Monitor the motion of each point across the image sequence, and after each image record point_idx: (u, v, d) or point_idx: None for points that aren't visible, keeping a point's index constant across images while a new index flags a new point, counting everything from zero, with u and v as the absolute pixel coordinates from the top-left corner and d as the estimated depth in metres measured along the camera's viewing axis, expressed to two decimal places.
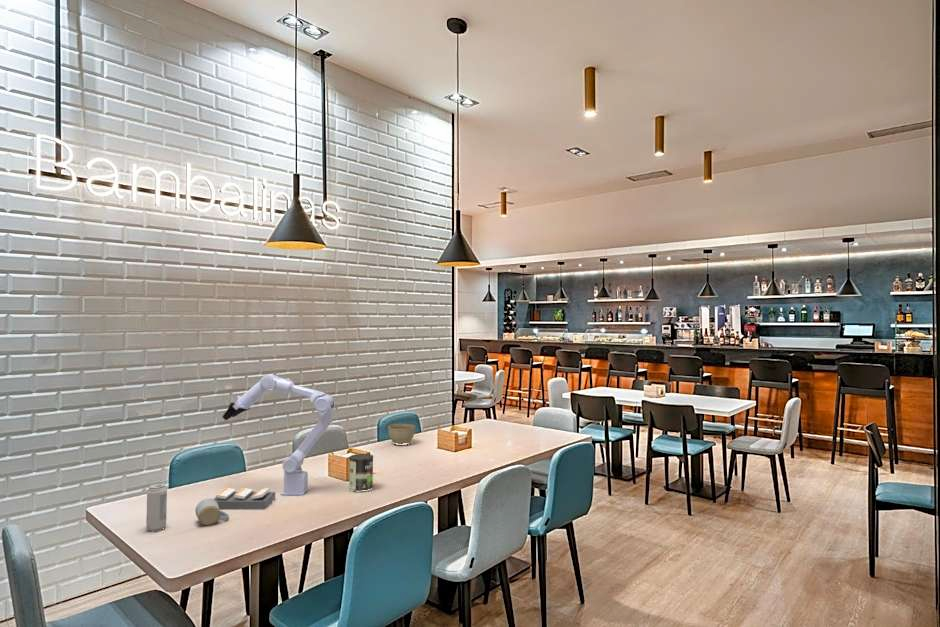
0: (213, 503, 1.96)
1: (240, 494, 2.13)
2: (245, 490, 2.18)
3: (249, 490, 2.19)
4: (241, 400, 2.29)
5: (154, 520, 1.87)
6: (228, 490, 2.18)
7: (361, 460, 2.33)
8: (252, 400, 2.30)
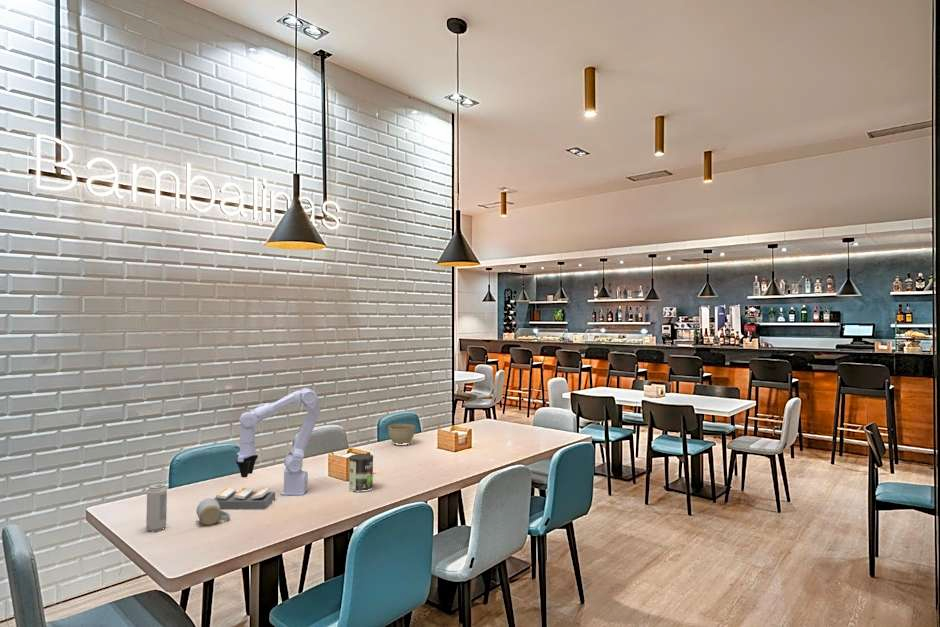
0: (214, 503, 1.97)
1: (240, 494, 2.13)
2: (245, 490, 2.18)
3: (249, 490, 2.19)
4: (241, 452, 2.21)
5: (154, 519, 1.87)
6: (228, 490, 2.18)
7: (361, 460, 2.33)
8: (249, 444, 2.22)
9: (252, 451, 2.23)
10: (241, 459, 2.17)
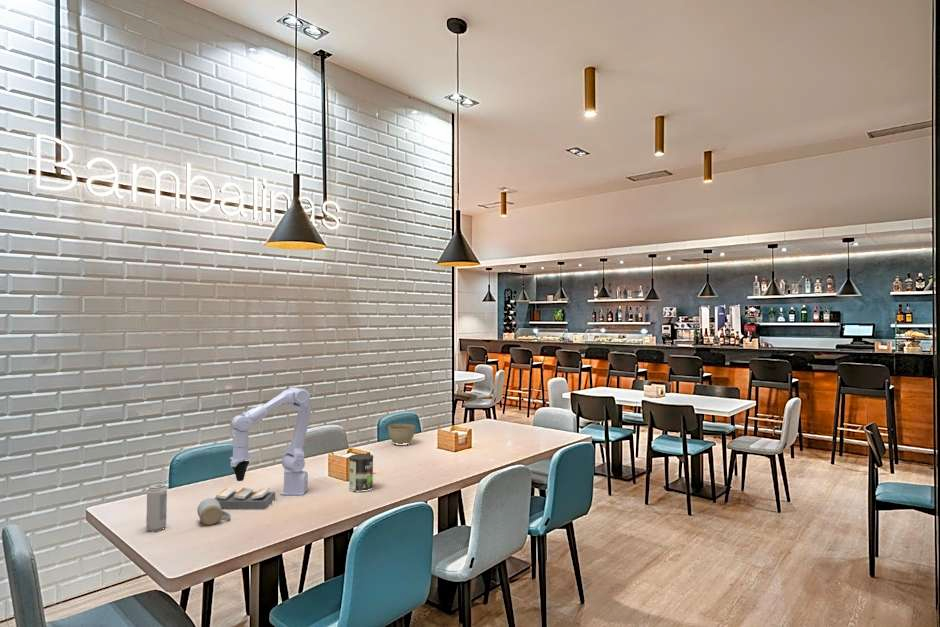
0: (215, 503, 1.97)
1: (240, 494, 2.13)
2: (245, 490, 2.18)
3: (249, 490, 2.19)
4: (234, 457, 2.14)
5: (154, 520, 1.87)
6: (228, 490, 2.18)
7: (361, 460, 2.33)
8: (243, 448, 2.15)
9: (245, 455, 2.16)
10: (234, 464, 2.10)
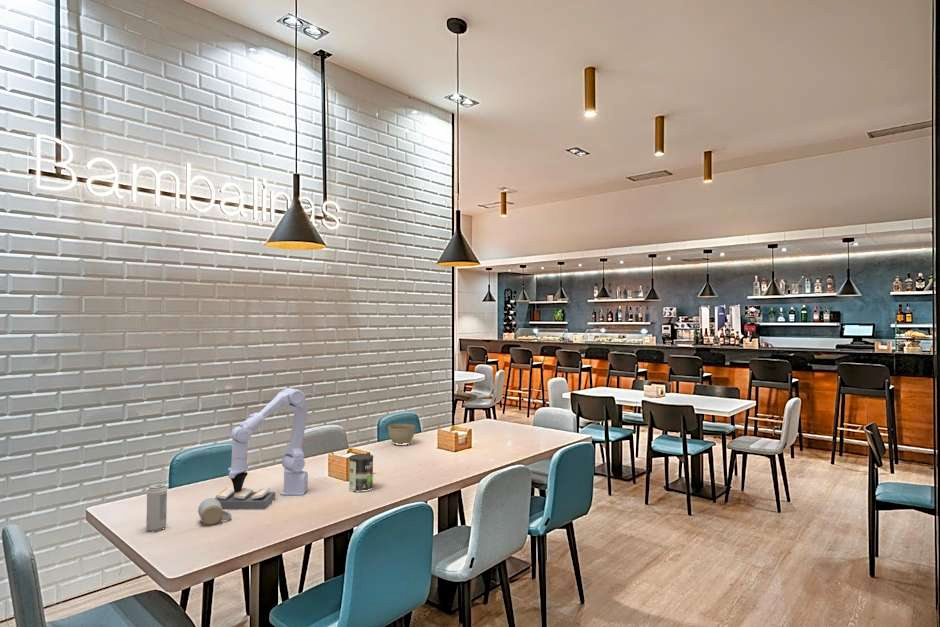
0: (216, 503, 1.97)
1: (240, 494, 2.13)
2: (245, 490, 2.18)
3: (249, 490, 2.19)
4: (233, 468, 2.14)
5: (154, 520, 1.87)
6: (228, 490, 2.18)
7: (361, 460, 2.33)
8: (241, 460, 2.15)
9: (244, 467, 2.15)
10: (232, 475, 2.09)
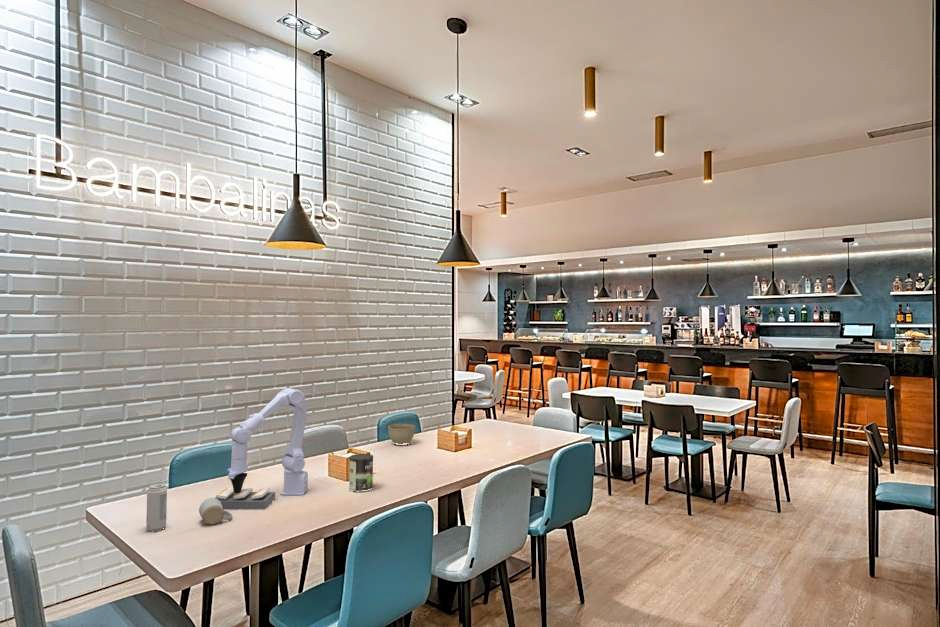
0: (217, 502, 1.97)
1: (239, 494, 2.13)
2: (244, 490, 2.18)
3: (248, 489, 2.19)
4: (233, 469, 2.14)
5: (154, 520, 1.87)
6: (228, 490, 2.18)
7: (361, 460, 2.33)
8: (241, 460, 2.15)
9: (244, 468, 2.15)
10: (232, 476, 2.09)
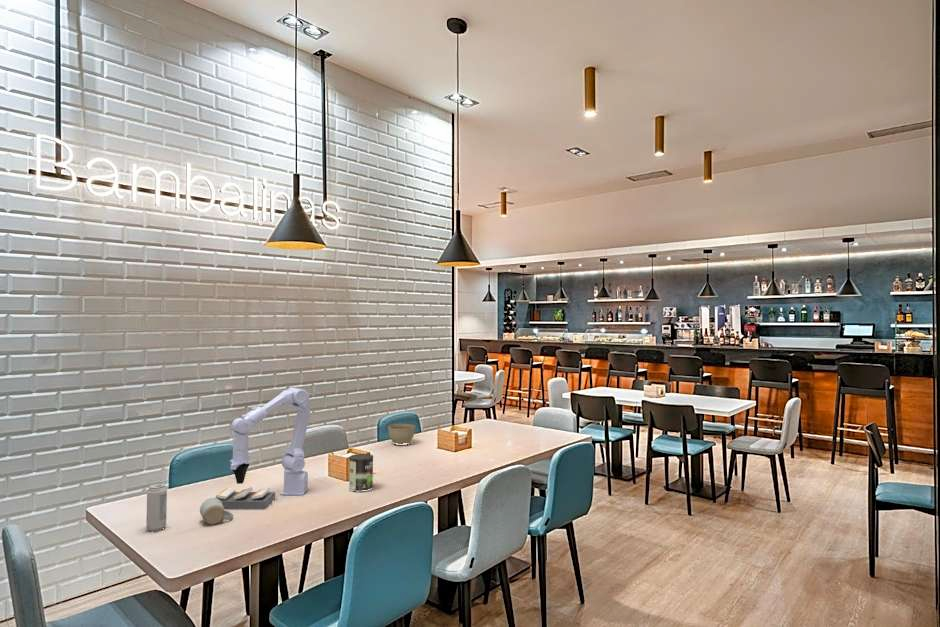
0: (218, 502, 1.97)
1: (239, 494, 2.13)
2: (244, 490, 2.18)
3: (248, 489, 2.19)
4: (234, 460, 2.14)
5: (154, 520, 1.87)
6: (228, 490, 2.18)
7: (361, 460, 2.33)
8: (243, 451, 2.15)
9: (245, 458, 2.16)
10: (234, 467, 2.09)
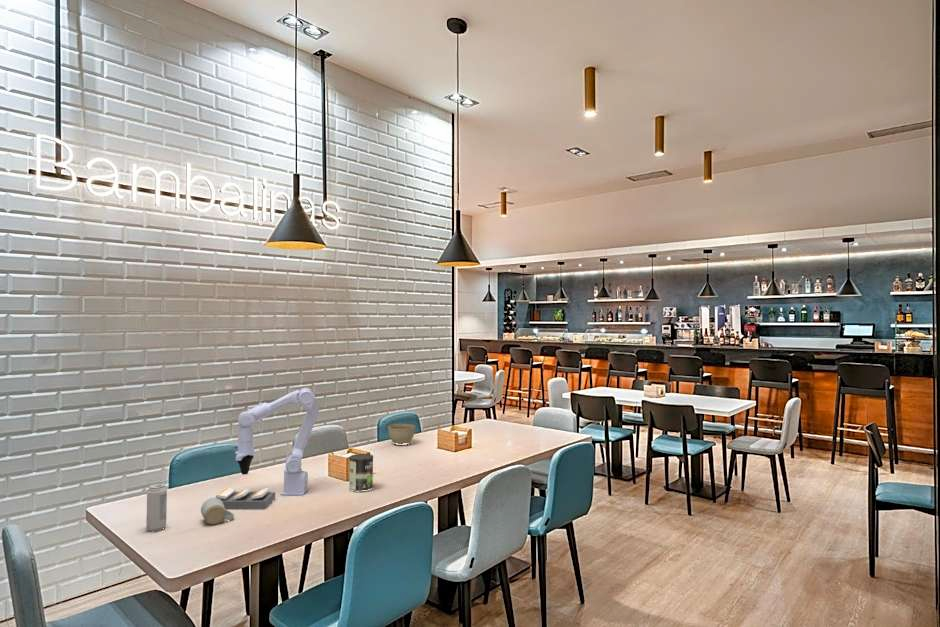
0: (218, 502, 1.97)
1: (239, 494, 2.13)
2: (244, 490, 2.18)
3: (248, 489, 2.19)
4: (239, 451, 2.23)
5: (154, 520, 1.87)
6: (228, 490, 2.18)
7: (361, 460, 2.33)
8: (247, 443, 2.24)
9: (250, 450, 2.25)
10: (239, 458, 2.18)
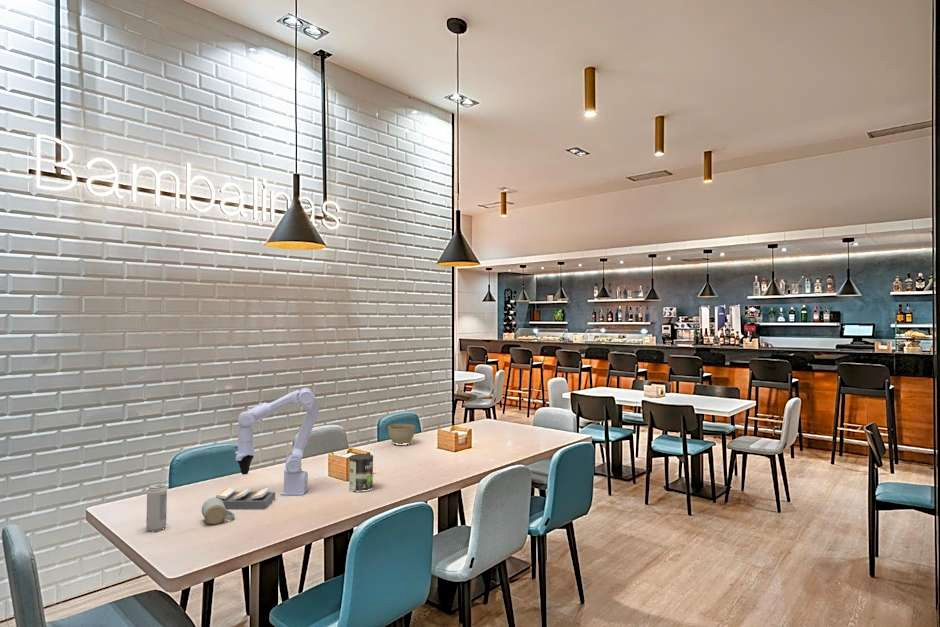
0: (219, 502, 1.97)
1: (239, 494, 2.13)
2: (244, 490, 2.18)
3: (247, 488, 2.19)
4: (239, 451, 2.23)
5: (154, 520, 1.87)
6: (228, 490, 2.18)
7: (361, 460, 2.33)
8: (247, 443, 2.24)
9: (250, 450, 2.25)
10: (239, 458, 2.18)
